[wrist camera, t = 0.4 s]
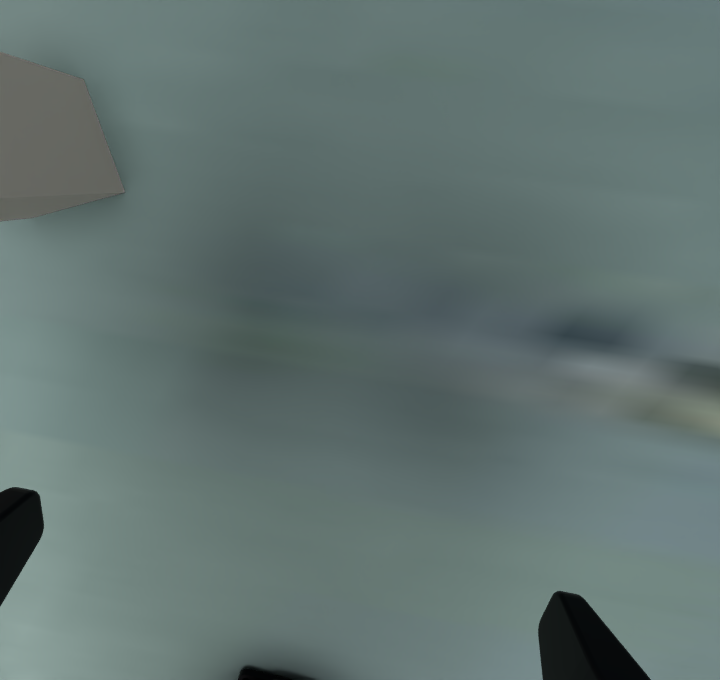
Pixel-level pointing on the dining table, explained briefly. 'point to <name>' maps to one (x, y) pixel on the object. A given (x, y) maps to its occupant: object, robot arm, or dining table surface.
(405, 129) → the dining table surface
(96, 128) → the carton
